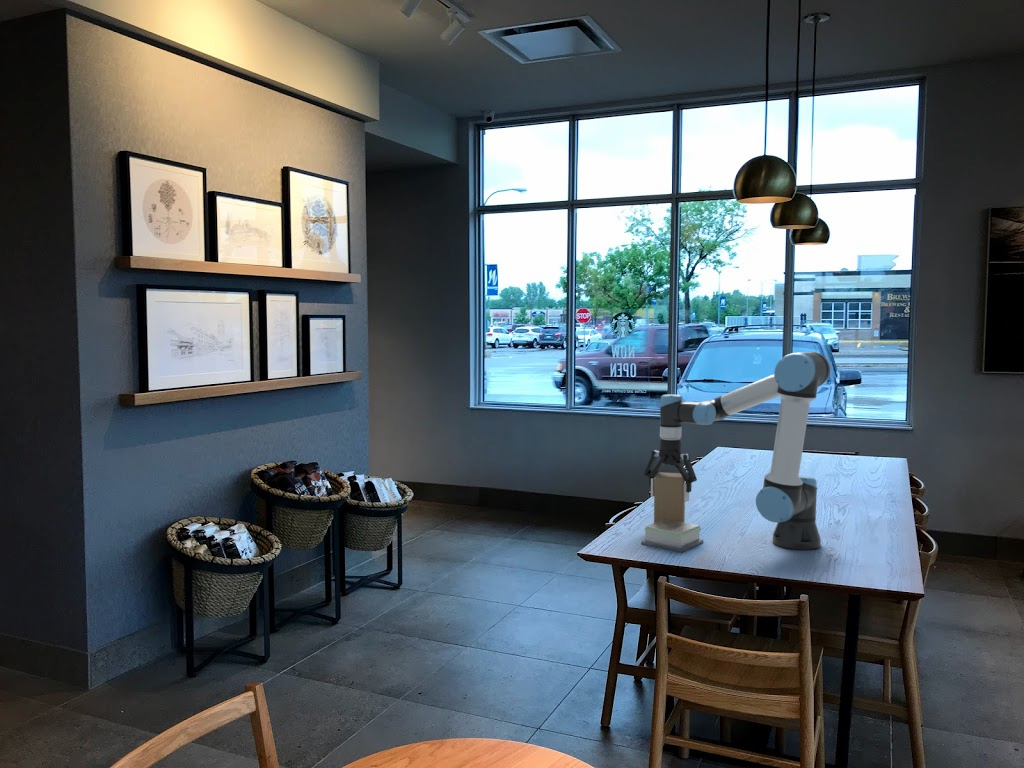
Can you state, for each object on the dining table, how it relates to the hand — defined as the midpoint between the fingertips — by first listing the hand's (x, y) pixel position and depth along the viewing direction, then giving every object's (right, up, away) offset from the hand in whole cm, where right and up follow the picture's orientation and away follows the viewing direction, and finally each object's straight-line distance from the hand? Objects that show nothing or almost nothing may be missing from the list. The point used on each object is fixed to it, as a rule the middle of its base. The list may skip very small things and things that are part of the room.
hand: (669, 498), depth 284 cm
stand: (-2, -13, -16) cm, 20 cm away
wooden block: (0, -12, +1) cm, 12 cm away
